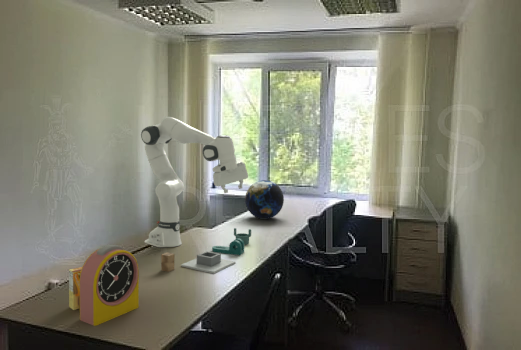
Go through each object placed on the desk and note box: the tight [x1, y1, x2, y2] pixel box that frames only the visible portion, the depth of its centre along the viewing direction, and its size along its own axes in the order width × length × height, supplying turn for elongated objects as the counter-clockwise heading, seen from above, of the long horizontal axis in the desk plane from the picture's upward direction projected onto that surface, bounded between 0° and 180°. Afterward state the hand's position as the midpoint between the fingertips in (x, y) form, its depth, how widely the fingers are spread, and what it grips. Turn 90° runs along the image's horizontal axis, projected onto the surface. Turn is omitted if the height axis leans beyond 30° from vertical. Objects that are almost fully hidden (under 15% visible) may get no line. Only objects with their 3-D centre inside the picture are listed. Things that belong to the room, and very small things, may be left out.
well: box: [180, 250, 236, 275], centre depth 238 cm, size 20×20×6 cm
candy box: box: [68, 266, 83, 311], centre depth 180 cm, size 9×4×15 cm, turn 137°
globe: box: [244, 179, 285, 220], centre depth 356 cm, size 30×30×30 cm
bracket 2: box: [233, 227, 252, 246], centre depth 283 cm, size 9×9×9 cm
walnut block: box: [160, 252, 176, 273], centre depth 228 cm, size 4×4×8 cm
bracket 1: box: [211, 238, 245, 256], centre depth 263 cm, size 18×7×8 cm, turn 74°
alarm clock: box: [79, 244, 140, 327], centre depth 174 cm, size 21×9×26 cm, turn 148°
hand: (233, 190), depth 247 cm, fingers open, 8 cm apart
